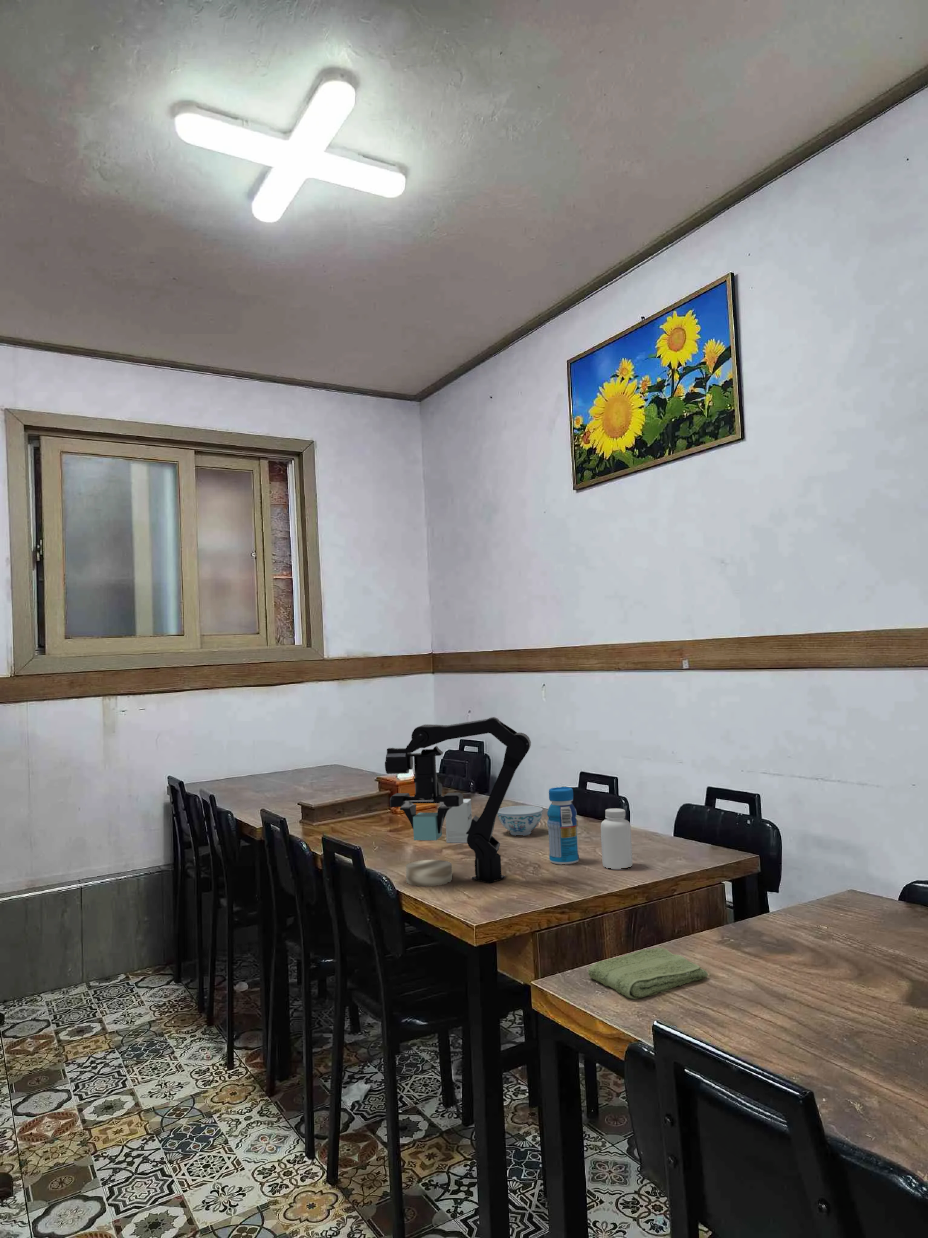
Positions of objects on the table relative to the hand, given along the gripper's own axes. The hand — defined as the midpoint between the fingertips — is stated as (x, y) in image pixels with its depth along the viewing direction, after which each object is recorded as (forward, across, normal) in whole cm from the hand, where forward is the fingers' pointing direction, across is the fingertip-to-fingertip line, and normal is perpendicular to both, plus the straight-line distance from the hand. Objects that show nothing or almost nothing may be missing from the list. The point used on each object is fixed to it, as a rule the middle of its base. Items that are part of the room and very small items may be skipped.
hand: (427, 833), depth 212 cm
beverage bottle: (+12, -33, -21) cm, 41 cm away
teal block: (+1, 0, 0) cm, 1 cm away
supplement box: (+12, +3, -47) cm, 48 cm away
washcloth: (+13, -56, +60) cm, 83 cm away
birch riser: (+12, 0, +1) cm, 12 cm away
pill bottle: (+12, -48, -16) cm, 52 cm away
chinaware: (+12, -15, -58) cm, 61 cm away
